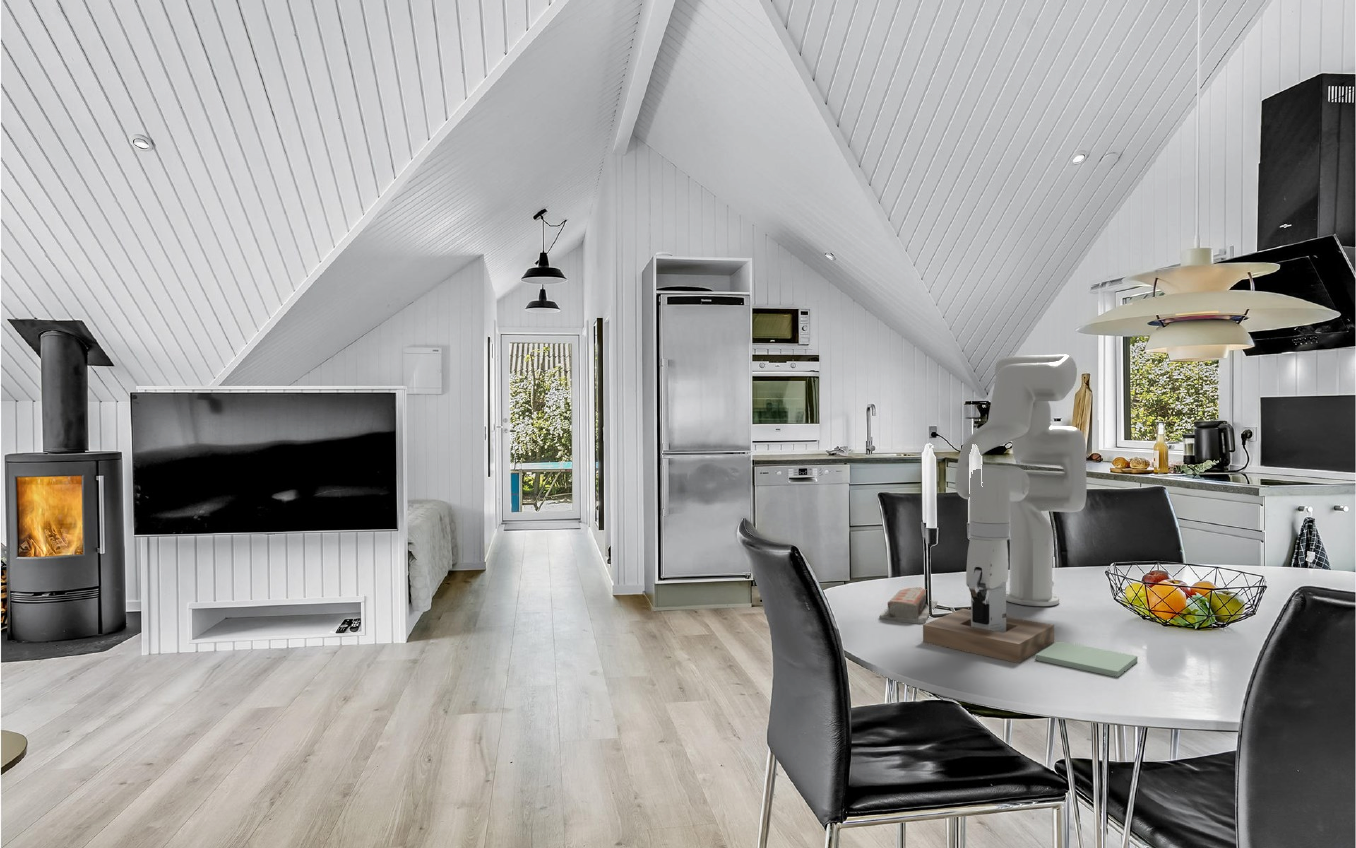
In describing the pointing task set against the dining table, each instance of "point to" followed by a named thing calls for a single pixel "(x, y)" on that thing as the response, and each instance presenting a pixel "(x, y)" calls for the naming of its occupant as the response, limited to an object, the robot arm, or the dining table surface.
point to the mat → (1087, 658)
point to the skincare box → (994, 609)
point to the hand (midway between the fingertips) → (988, 618)
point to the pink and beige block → (908, 606)
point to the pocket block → (989, 636)
